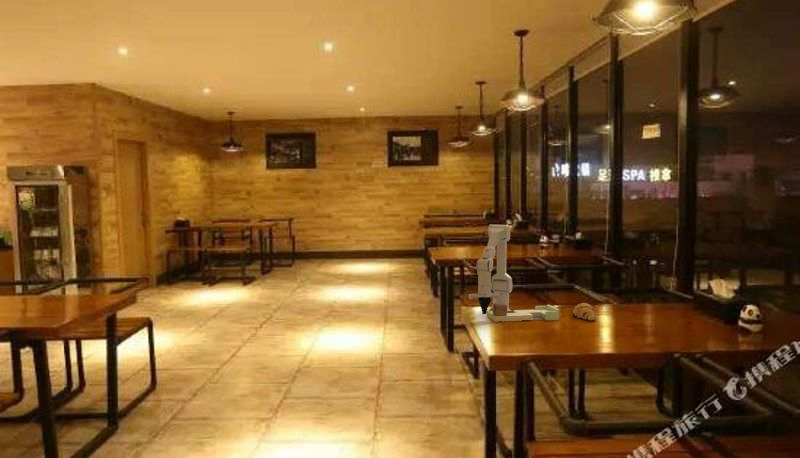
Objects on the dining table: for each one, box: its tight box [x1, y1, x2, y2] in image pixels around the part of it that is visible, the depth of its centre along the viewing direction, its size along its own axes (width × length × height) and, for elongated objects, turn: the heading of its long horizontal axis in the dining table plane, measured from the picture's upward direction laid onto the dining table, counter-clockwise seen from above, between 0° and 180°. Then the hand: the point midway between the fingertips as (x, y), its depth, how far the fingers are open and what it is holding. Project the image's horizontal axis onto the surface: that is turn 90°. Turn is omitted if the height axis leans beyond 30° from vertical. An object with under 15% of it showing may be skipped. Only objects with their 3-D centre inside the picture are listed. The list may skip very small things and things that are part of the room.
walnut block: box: [492, 302, 508, 316], centre depth 274 cm, size 5×5×5 cm
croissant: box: [573, 302, 597, 321], centre depth 281 cm, size 21×10×8 cm, turn 4°
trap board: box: [486, 304, 560, 323], centre depth 279 cm, size 14×31×5 cm, turn 98°
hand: (484, 313), depth 273 cm, fingers closed
